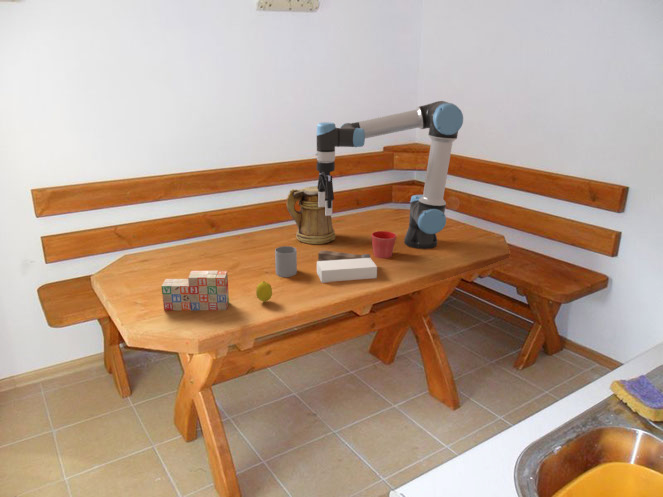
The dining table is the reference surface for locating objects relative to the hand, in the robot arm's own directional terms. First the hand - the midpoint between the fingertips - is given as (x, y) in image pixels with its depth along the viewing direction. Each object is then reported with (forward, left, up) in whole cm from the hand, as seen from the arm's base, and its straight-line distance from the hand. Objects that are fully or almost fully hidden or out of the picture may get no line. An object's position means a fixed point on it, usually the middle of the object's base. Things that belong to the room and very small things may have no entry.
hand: (325, 210), depth 227 cm
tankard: (+2, -21, -20) cm, 29 cm away
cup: (+19, +18, -20) cm, 33 cm away
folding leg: (-6, +13, -19) cm, 24 cm away
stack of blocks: (+53, +42, -20) cm, 71 cm away
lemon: (+30, +43, -20) cm, 56 cm away
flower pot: (-25, +6, -20) cm, 32 cm away
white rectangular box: (-4, +25, -20) cm, 32 cm away
